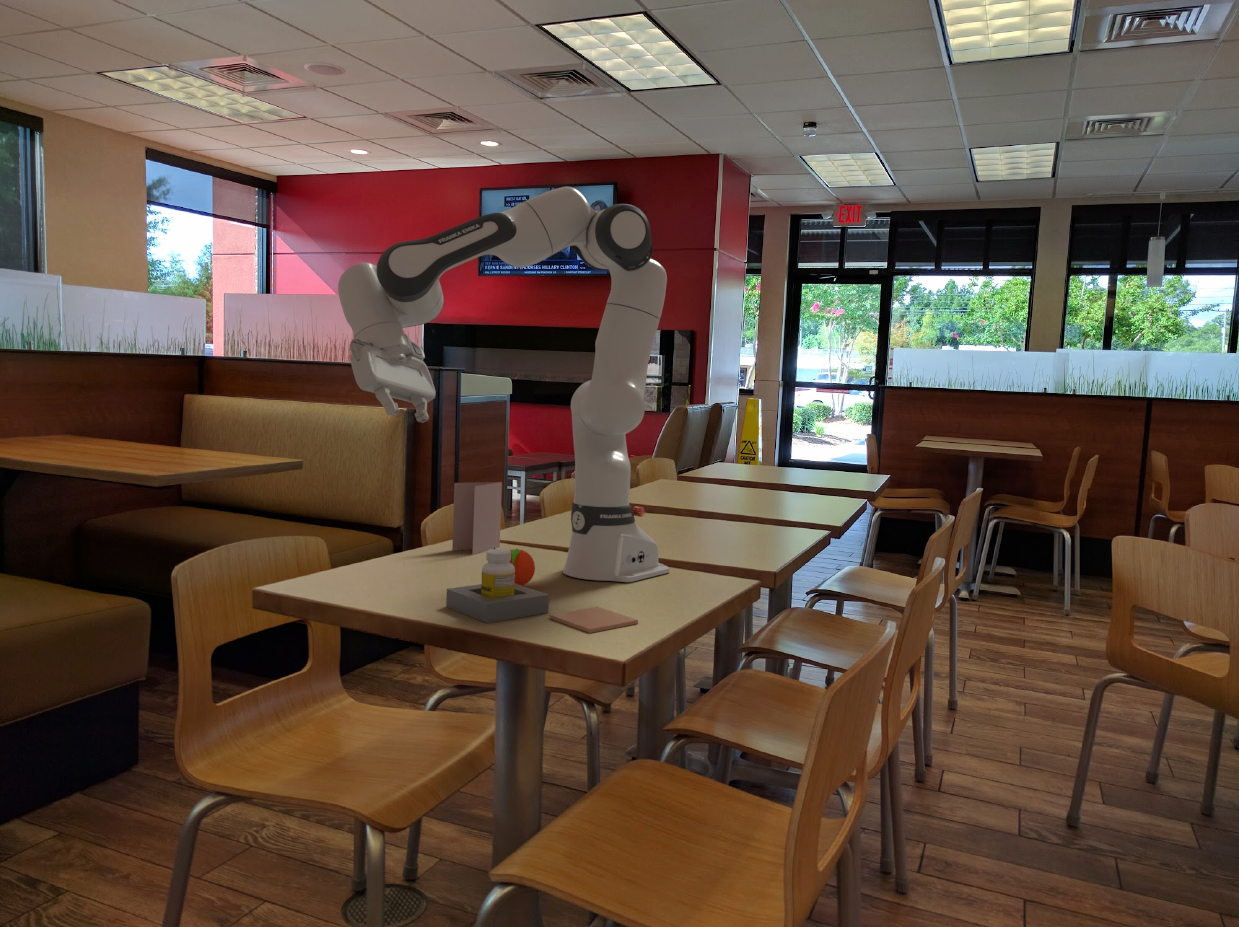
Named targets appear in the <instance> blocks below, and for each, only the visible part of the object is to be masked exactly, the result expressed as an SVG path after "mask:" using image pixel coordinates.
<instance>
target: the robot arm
mask: <svg viewBox="0 0 1239 927" xmlns="http://www.w3.org/2000/svg"><path fill="white" fill-rule="evenodd" d="M567 248H570V249H571V250H572V251H573V252H574V253H575V254H576V255H577V256H578V257H579V259H580V260H581V261H582V262H583V263H584V264H585V265H586V266H588V267H590V268H591V269H593V270H595V271H596V270H597V271H608V272H609V274H610V277H611V278H610V279H611V286H610V289H611V290H610V293H609V296H608V297H607V301H606V304H605V308H604V311H603V316H602V319H601V322H600V325H599V329H598V332H597V336H596V339H595V344H594V346H595V353H594V361H593V368H592V375H591V380H590V379H589V380H587V381H585V382H583V383H582V384H581V385H580V386H578V388H577V389H576V390H575V392H574V393H573V394H572V397H571V400H570V412H571V422H572V423H571V425H572V438H573V451H574V462H575V463H574V491H573V495H574V496H573V502H572V503H571V511H570V521H571V535H570V540H569V546H568V552H567V557H566V560H565V564H564V566H563V569H562V573H563V574H564V575H566V576H569V577H572V578H577V579H580V580H581V579H583V580H589V581H590V580H591V581H604V582H605V581H607V582H608V581H609V582H611V581H612V582H621V583H622V582H623V583H632V582H636V581H641V580H645V579H648V578H653V577H657V576H661V575H665V574H669V573H670V567H668V565H665V564H663V563H660V562H659V549H658V546H657V545H658V544H657V543H656V540H655V539H653V538H652V537H651V536H649V535H648V534H647V533H646V532H645V531H644V530H643V529H642V528H641V527H640V526H639V525H638V524H636V519H635V517H636V516H637V517H639V518H642V517H643V516H644V515H645V513H646V509H645V508H644V507H643V506H636V505H635V506H634V507H632V506H631V504H630V493H631V492H630V491H631V473H632V472H631V469H632V468H631V462H630V459H629V453H628V448H627V447H628V446H627V441H626V440H627V438H626V437H627V436H626V434H628V433H630V432H632V431H634V429H636V428H638V426H639V425H640V424H641V422H642V421H643V418H644V416H645V412H646V411H645V408H646V406H645V405H646V404H645V401H644V399H645V394H646V386H647V376H648V370H649V369H648V367H649V361H650V356H651V352H652V349H653V346H654V342H655V339H656V334H657V331H658V328H659V325H660V320H661V317H662V313H663V309H664V305H665V304H664V303H665V299H666V293H667V292H666V290H667V283H668V276H667V271H666V269H665V268H664V267H663V265H661V263H660V262H658V261H657V260H655V259H653V258H652V257H653V254H654V247H653V242H652V231H651V225H650V222H649V219H648V218H647V216H646V214H645V213H644V212H643V211H642V210H641V209H640V208H639V207H637V206H635V205H633V204H630V203H629V204H628V203H615V204H613V205H609V206H608V207H606V208H604V209H602V210H595V209H593V207H592V206H591V205H590V204H589V202H588V200H587V199H586V197H585V196H584V194H583V193H582V192H580V190H578V189H576V188H574V187H572V186H561V187H558V188H554V189H552V190H548V191H545V192H544V193H543V192H542V193H540V194H537V195H535V196H533V197H531V198H528V199H527V200H525V201H522V202H521V203H518V204H517V205H515V206H512V207H510V208H508V209H506V210H504V211H500V212H491V213H487V214H485V215H481V216H478V217H476V218H473V219H470V220H468V221H465V222H463V223H461V224H458V225H456V226H454V227H451V228H448V229H445V230H444V231H441V232H438V233H436V234H433V235H431V236H429V237H425V238H421V239H411V240H405V241H403V240H402V241H399V242H396V243H394V244H392V245H390V246H389V247H387V248H386V249H385V250H384V251H383V252H382V254H381V255H380V256H379V258H378V261H377V263H376V264H373V263H372V262H371V263H370V262H359V263H357V264H354V265H352V266H350V267H348V268H347V269H346V270H345V271H344V272H343V273H342V274H341V275H340V277H339V280H338V283H337V290H338V291H337V292H338V297H339V301H340V305H341V308H342V311H343V314H344V318H345V320H346V322H347V324H348V326H350V329H351V330H352V333H353V336H352V338H353V339H352V340H351V341H350V343H349V349H350V351H351V353H350V355H349V359H350V365H351V368H352V372H353V376H354V379H355V382H356V385H357V386H358V388H360V390H362V391H365V392H369V393H372V394H374V395H375V397H376V399H377V400H378V401H379V403H380V404H381V405H382V407H383V408H384V410H385V413H386V415H387V416H391V417H395V416H396V415H398V414H399V413H400V411H401V410H400V408H399V405H398V403H397V402H395V401H394V399H396V400H401V401H404V402H408V403H412V405H413V407H414V408H415V411H416V412H414V416H415V418H416V421H417V422H418V423H419V422H420V423H422V424H423V423H426V422H428V420H430V416H429V414H428V411H427V410H428V403H429V402H431V401H433V400H435V398H436V388H435V385H434V382H433V379H432V375H431V373H430V371H429V369H428V368H429V367H428V366H427V364H426V363H425V361H424V359H425V358H426V356H425V352H424V350H423V349H422V348H421V347H420V346H419V345H418V344H416V343H415V342H413V340H412V339H411V338H410V337H409V336H408V334H407V333H405V331H404V328H412V327H417V326H420V325H422V326H423V325H425V324H429V323H431V322H432V321H434V320H435V319H436V318H438V317H439V316H440V314H441V312H442V311H443V308H444V305H445V297H444V294H443V289H442V285H441V283H440V278H441V277H442V275H444V274H445V272H447V271H449V270H451V269H453V268H456V267H459V266H461V265H463V264H464V263H467V262H469V261H472V260H474V259H476V258H479V257H482V256H487V255H489V256H490V255H492V256H495V257H498V258H499V259H500V260H501V261H502V262H504V263H505V264H508V265H510V266H512V267H514V268H522V269H523V268H526V267H530V266H533V265H535V264H538V263H540V262H542V261H544V260H546V259H548V258H550V257H552V256H553V255H555V254H557V253H559V252H560V251H562V250H564V249H567Z"/></svg>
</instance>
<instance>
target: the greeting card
mask: <svg viewBox="0 0 1239 927" xmlns="http://www.w3.org/2000/svg"><path fill="white" fill-rule="evenodd" d="M453 486H454V487H453V512H452V513H453V515H452V519H453V520H452V546H451V547H452V548H451V550H452V551H456V550H455V549H463V550H472V556H474V555H477V554H480V553H479V552H481V553H484V551H485V552H487V551H488V550H490V549H494V548H495V549H499V548H500V547H501V546H500V544H501V540H500V539H501V520H502V519H501V517H502V514H501V513H502V495H503V494H502V491H503V490H502V489H503V488H502V487H503V482H502V481H499V482H497V481H496V482H495V481H493V482H492V481H491V482H489V481H488V482H486V481H485V482H454V483H453ZM498 547H499V548H498ZM473 554H474V555H473Z"/></svg>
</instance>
